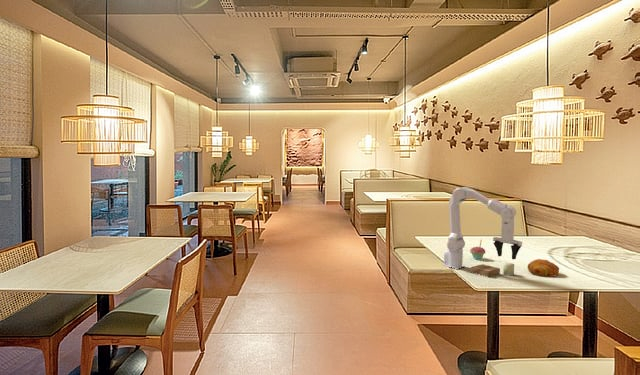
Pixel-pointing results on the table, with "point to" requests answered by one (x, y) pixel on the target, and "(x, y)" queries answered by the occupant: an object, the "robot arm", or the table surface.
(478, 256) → the cupcake
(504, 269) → the sage cylinder
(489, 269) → the walnut base
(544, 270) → the croissant
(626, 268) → the table surface
